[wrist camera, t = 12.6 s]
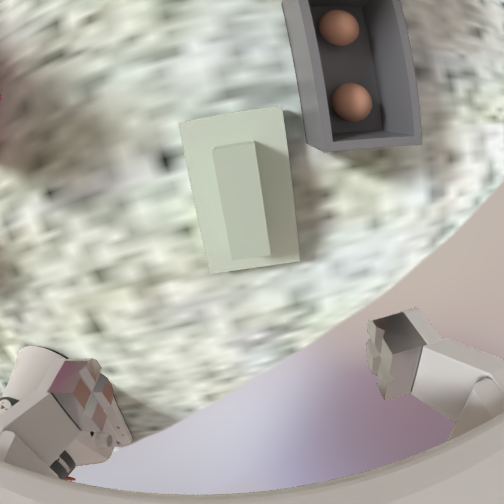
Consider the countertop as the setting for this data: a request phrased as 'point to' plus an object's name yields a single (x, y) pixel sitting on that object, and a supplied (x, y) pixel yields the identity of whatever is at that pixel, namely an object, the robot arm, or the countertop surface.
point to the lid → (242, 188)
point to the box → (355, 74)
